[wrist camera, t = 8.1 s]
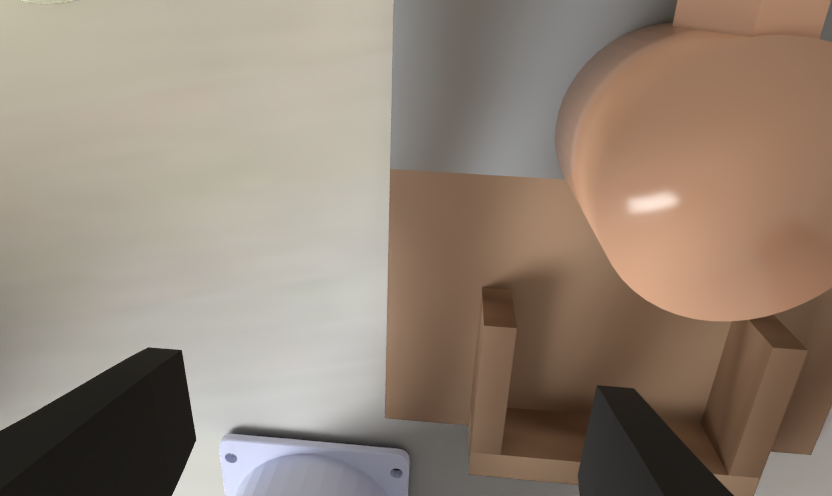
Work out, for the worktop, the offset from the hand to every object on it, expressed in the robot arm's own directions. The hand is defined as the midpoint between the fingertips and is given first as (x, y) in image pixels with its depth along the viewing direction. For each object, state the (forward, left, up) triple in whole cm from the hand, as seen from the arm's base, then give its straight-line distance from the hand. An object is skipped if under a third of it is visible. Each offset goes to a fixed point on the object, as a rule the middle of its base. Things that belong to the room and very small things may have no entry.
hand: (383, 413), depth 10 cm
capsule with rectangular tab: (+5, -7, -10) cm, 13 cm away
